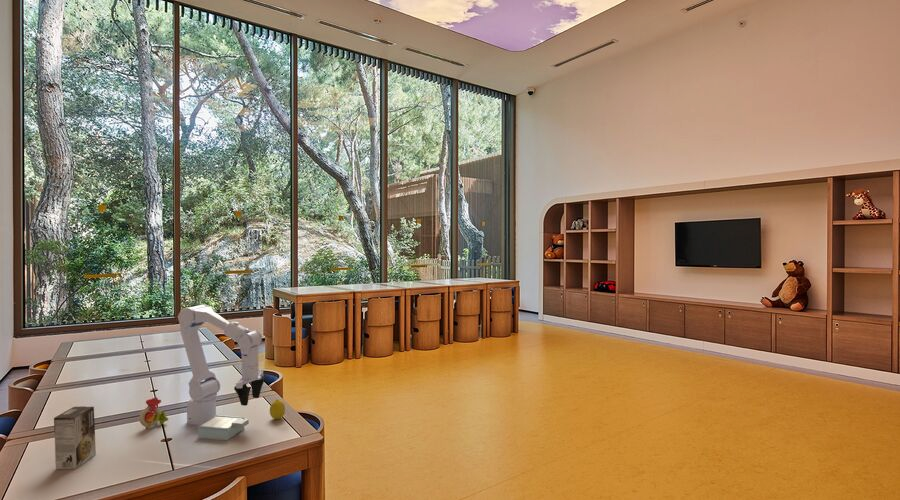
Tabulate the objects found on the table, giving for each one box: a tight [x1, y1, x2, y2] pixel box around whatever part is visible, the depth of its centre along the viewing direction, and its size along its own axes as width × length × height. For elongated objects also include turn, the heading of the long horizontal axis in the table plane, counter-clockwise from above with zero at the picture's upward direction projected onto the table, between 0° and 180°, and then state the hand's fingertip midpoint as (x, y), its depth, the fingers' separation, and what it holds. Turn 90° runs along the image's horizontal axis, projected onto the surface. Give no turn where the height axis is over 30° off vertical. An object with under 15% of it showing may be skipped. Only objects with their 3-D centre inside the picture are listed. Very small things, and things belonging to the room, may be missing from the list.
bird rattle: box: [138, 396, 169, 430], centre depth 175 cm, size 6×11×9 cm
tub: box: [197, 414, 245, 441], centre depth 169 cm, size 11×10×5 cm
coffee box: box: [53, 406, 97, 470], centre depth 148 cm, size 9×6×16 cm
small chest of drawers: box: [200, 417, 250, 429], centre depth 169 cm, size 14×8×2 cm, turn 81°
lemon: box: [269, 399, 286, 420], centre depth 182 cm, size 6×6×8 cm
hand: (250, 401), depth 175 cm, fingers open, 7 cm apart
